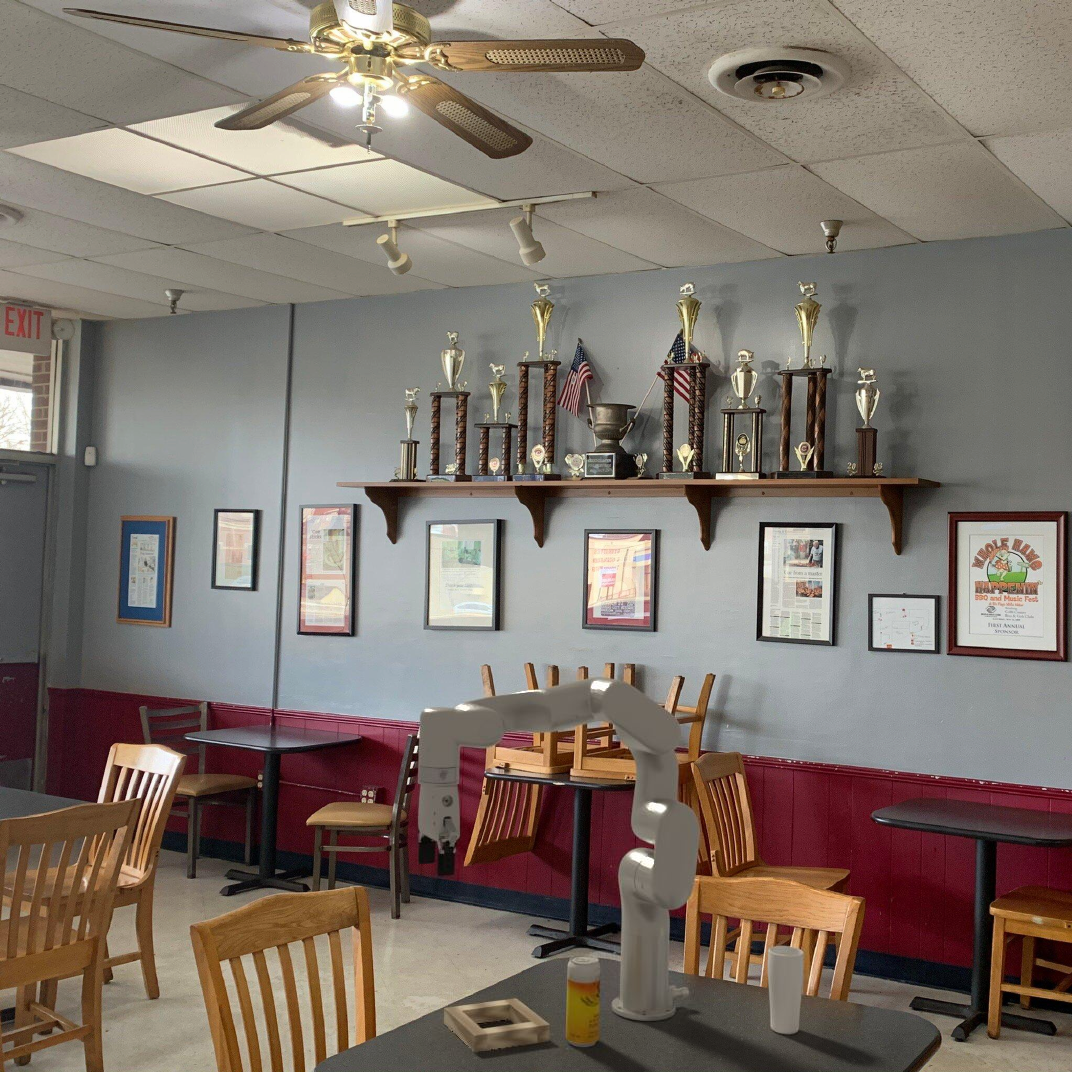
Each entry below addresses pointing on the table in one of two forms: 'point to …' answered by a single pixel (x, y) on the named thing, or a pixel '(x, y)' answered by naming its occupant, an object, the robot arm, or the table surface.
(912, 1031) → the table surface
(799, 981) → the drinking glass
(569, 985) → the beer can
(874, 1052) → the table surface
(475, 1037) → the can holder
